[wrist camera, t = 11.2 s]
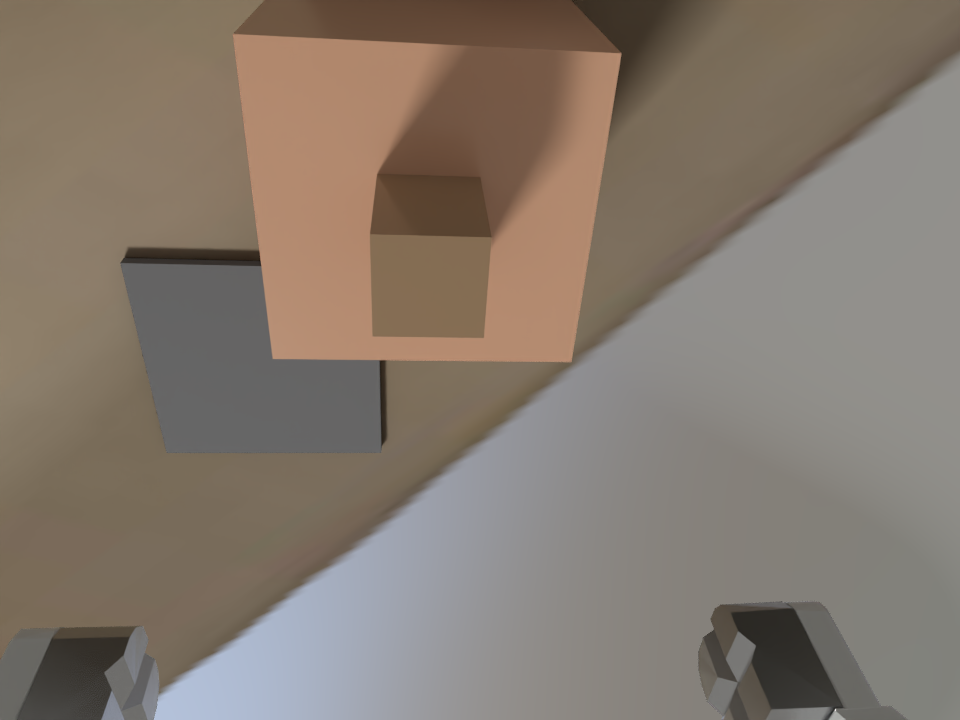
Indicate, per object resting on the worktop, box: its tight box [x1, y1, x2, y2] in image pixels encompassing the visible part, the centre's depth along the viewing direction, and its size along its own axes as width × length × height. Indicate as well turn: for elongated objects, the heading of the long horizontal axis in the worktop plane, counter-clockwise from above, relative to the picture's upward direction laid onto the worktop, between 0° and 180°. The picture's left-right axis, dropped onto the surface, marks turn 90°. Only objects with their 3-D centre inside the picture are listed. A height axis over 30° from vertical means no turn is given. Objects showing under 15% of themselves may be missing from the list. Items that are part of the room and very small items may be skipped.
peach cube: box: [233, 0, 622, 362], centre depth 25 cm, size 10×10×15 cm
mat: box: [120, 258, 382, 453], centre depth 38 cm, size 12×12×1 cm
